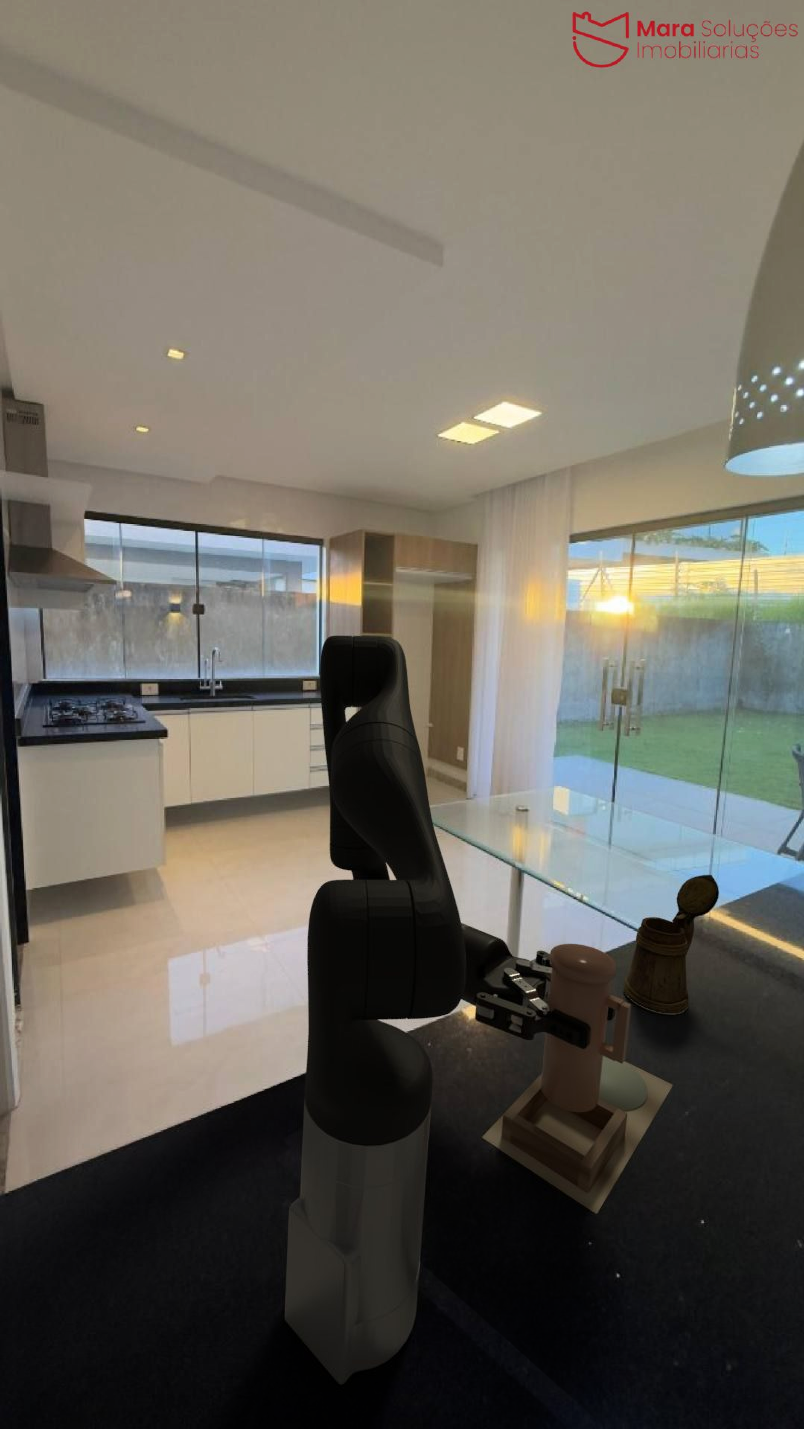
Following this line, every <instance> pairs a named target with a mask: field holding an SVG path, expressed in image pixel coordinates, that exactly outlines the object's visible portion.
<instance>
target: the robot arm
mask: <svg viewBox="0 0 804 1429" xmlns="http://www.w3.org/2000/svg"><path fill="white" fill-rule="evenodd" d="M319 688H320V689H319V690H320V703H321V706H320V707H321V716H322V717H321V718H322V728H323V741H324V742H323V743H324V752H325V761H326V769H327V776H328V777H327V778H328V790H329V859H330V861H331V863H332V864H333V866H334V867H336V868H338V869H340V870H343V871H350V872H351V874H352V879H334V880H333V879H332V880H328V881H326V882H324V883H323V884H321V886H320V887H319V888H318V889H317V892H316V894H314V897H313V900H312V903H311V906H310V911H309V918H308V925H307V926H308V928H307V948H306V949H307V950H306V951H307V952H306V953H307V954H306V955H307V960H306V962H307V964H306V965H307V1000H308V1001H307V1008H308V1010H307V1012H308V1013H307V1015H308V1016H307V1019H308V1020H307V1021H308V1025H307V1026H308V1029H307V1030H308V1032H307V1056H306V1067H305V1069H306V1070H305V1084H304V1101H303V1102H304V1103H303V1104H304V1105H303V1126H302V1148H301V1165H300V1166H301V1168H300V1190H299V1191H300V1192H299V1193H300V1195H299V1197H298V1198H297V1199H295V1200H294V1201H293V1202H292V1203H291V1204H290V1205H289V1210H288V1223H287V1224H288V1226H287V1227H288V1228H287V1229H288V1230H287V1247H286V1248H287V1251H286V1252H287V1253H286V1255H287V1256H286V1275H285V1276H286V1277H285V1298H284V1300H285V1301H284V1303H285V1304H284V1320H285V1322H286V1323H287V1324H288V1325H289V1327H290V1328H291V1330H293V1331H294V1333H295V1334H296V1335H297V1336H298V1338H299V1339H300V1340H301V1341H302V1342H303V1343H304V1345H305V1346H306V1347H307V1348H308V1349H309V1350H310V1352H311V1353H312V1354H313V1355H314V1356H315V1358H316V1359H317V1360H318V1361H319V1362H320V1363H321V1365H322V1366H323V1367H324V1368H325V1369H326V1371H328V1374H330V1375H331V1376H332V1378H333V1379H334V1380H335V1381H336V1382H337V1383H338V1385H344V1384H345V1383H346V1382H347V1380H348V1379H349V1378H350V1377H352V1376H353V1375H354V1373H357V1372H360V1371H365V1370H371V1369H375V1368H377V1367H378V1366H380V1365H382V1364H385V1363H386V1362H388V1361H389V1360H390V1359H392V1358H393V1357H394V1356H395V1355H396V1354H397V1353H398V1352H399V1351H400V1350H401V1349H402V1347H403V1346H404V1345H405V1343H406V1342H407V1340H408V1339H409V1336H410V1335H411V1332H412V1330H413V1329H414V1328H413V1327H414V1323H415V1320H416V1316H417V1307H418V1306H417V1305H418V1304H417V1303H418V1295H419V1294H418V1293H419V1292H418V1291H419V1281H420V1280H419V1278H420V1265H421V1253H422V1252H421V1251H422V1236H423V1235H422V1234H423V1224H424V1223H423V1220H424V1208H425V1192H426V1180H427V1179H426V1178H427V1163H428V1151H429V1150H428V1149H429V1139H430V1126H431V1125H430V1124H431V1113H432V1111H431V1110H432V1098H433V1097H432V1096H433V1087H434V1086H433V1084H434V1079H433V1077H434V1076H433V1066H432V1063H431V1060H430V1057H429V1055H428V1053H427V1052H426V1050H425V1048H424V1047H423V1046H422V1044H420V1042H419V1041H418V1040H417V1039H416V1038H414V1036H412V1035H410V1034H409V1033H408V1032H406V1031H405V1030H402V1029H401V1028H399V1027H397V1026H395V1025H392V1024H390V1023H387V1022H384V1020H386V1021H387V1020H406V1019H407V1020H420V1019H421V1020H424V1019H431V1018H439V1017H442V1016H447V1015H449V1014H451V1013H452V1012H453V1011H454V1010H455V1009H457V1007H458V1006H459V1004H460V1003H461V1000H462V1001H465V1002H467V1003H469V1004H470V1005H472V1006H474V1007H475V1014H474V1019H475V1020H476V1022H479V1023H482V1024H484V1025H486V1026H489V1027H492V1028H494V1029H497V1030H500V1031H502V1032H505V1033H507V1034H509V1035H513V1036H515V1037H516V1038H517V1037H518V1038H519V1039H522V1040H525V1041H532V1040H535V1035H536V1034H539V1035H540V1036H541V1035H542V1036H546V1035H547V1034H548V1033H549V1034H551V1035H553V1036H555V1037H557V1038H559V1039H561V1040H563V1041H565V1042H567V1043H569V1044H572V1045H575V1046H577V1047H579V1048H581V1049H585V1048H586V1047H587V1046H588V1045H589V1044H590V1037H591V1027H590V1026H589V1024H587V1023H585V1022H583V1021H581V1020H579V1019H577V1018H574V1017H572V1016H570V1015H567V1014H565V1013H563V1012H561V1011H559V1010H557V1009H554V1010H553V1011H552V1012H551V1008H550V1006H548V1005H549V994H550V990H549V991H547V990H546V988H547V981H548V982H549V983H551V973H552V967H551V965H550V952H546V951H545V950H536V957H535V958H533V959H532V960H529V959H528V958H527V959H526V958H522V957H517V956H514V955H513V954H512V953H511V951H510V950H509V947H508V944H507V943H506V942H505V941H504V939H502V938H500V937H497V936H495V935H493V934H490V933H488V932H485V931H482V930H480V929H477V928H475V927H473V926H470V925H468V924H466V923H463V922H461V916H460V912H459V908H458V904H457V901H456V897H455V894H454V890H453V887H452V884H451V879H450V877H449V874H448V870H447V868H446V865H445V864H446V863H445V861H444V858H443V854H442V850H441V848H440V845H439V841H438V837H437V835H436V830H435V826H434V823H433V818H432V813H431V812H432V811H431V807H430V801H429V794H428V786H427V779H426V773H425V767H424V762H423V757H422V751H421V748H420V745H419V740H418V737H417V733H416V728H415V723H414V720H413V715H412V710H411V703H410V692H409V678H408V668H407V660H406V655H405V651H404V649H403V647H402V644H400V642H399V641H398V640H396V639H394V638H391V637H388V636H381V635H380V636H378V635H377V636H376V635H375V636H373V635H372V636H371V635H330V636H328V637H327V638H326V639H325V641H324V643H323V645H322V648H321V653H320V663H319ZM347 708H361V709H358V711H357V712H355V713H354V714H353V715H352V716H351V717H349V719H348V720H347V718H346V710H347ZM388 868H389V870H390V871H391V873H392V874H393V876H394V879H391V878H390V874H389V870H388ZM546 991H547V992H546ZM616 1013H617V1010H615V1009H613V1008H610V1007H608V1014H607V1021H609V1022H610V1021H612V1020H613V1019H614V1018H616ZM512 1016H514V1017H515V1018H516V1019H517V1020H518V1021H519V1022H520V1023H521V1025H520V1024H518V1023H516V1022H514V1021H513V1020H512ZM382 1020H383V1021H382Z"/></svg>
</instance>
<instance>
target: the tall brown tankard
mask: <svg viewBox="0 0 804 1429" xmlns="http://www.w3.org/2000/svg"><path fill="white" fill-rule="evenodd" d="M549 954H550V965H551V967H552V973H551V982H549V983H550V985H549V991H550V994H549V1004H547V1005H548V1006H550V1008H551V1012H552V1011H553V1010H554V1009H557V1010H559V1011H561V1012H563V1013H565V1014H567V1015H570V1016H572V1017H574V1018H577V1019H579V1020H581V1021H583V1022H585V1023H587V1024H589V1026H590V1027H591V1037H590V1044H589V1045H588V1046H587V1047H586V1048H585V1049H581V1048H579V1047H577V1046H575V1045H572V1044H569V1043H567V1042H565V1041H563V1040H561V1039H559V1038H557V1037H555V1036H553V1035H551V1034H549V1033H548V1034H547V1035H544V1036H545V1038H544V1040H545V1041H544V1048H543V1058H542V1059H543V1060H542V1069H541V1074H542V1079H541V1089H542V1092H543V1094H544V1095H545V1097H546V1098H547V1099H548V1100H549V1101H550V1102H552V1103H553V1104H554V1105H556V1106H558V1107H560V1108H562V1109H564V1110H567V1111H571V1112H587V1111H590V1110H592V1109H593V1108H595V1107H596V1106H597V1104H598V1100H599V1090H600V1081H601V1071H602V1062H603V1056H605V1057H607V1058H609V1059H611V1060H613V1061H617V1062H619V1063H621V1064H622V1063H623V1062H624V1061H625V1062H626V1056H627V1055H626V1054H627V1047H628V1035H629V1028H630V1019H631V1011H632V1004H631V1003H628V1002H627V1001H624V999H622V998H619V997H617V996H615V995H613V994H611V984H612V980H614V979H615V976H616V968H617V964H616V962H615V960H614V958H612V957H611V956H610V955H608V954H607V953H606V952H604V951H602V950H600V949H599V948H598V949H597V948H596V947H593V946H588V945H586V944H578V943H563V944H558V945H555V946H554V947H553V948H551V949H550V952H549ZM608 1007H610V1008H613V1009H615V1010H616V1012H615V1023H614V1032H613V1033H614V1034H613V1044H612V1045H610V1044H608V1043H605V1041H606V1032H607V1023H608V1022H607V1021H608V1020H607V1014H608Z"/></svg>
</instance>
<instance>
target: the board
mask: <svg viewBox="0 0 804 1429" xmlns="http://www.w3.org/2000/svg"><path fill="white" fill-rule="evenodd" d="M541 1079H542V1073H540V1075H538V1077H537V1078H536V1079H535V1080H534V1081H533V1082H532V1083H531V1084H530V1085H529V1086H528V1087H527V1088H526V1089H525V1090H524V1092H523V1093H522V1094H521V1095H519V1097H518V1098H517V1099H516V1101H515V1102H513V1103H512V1105H511V1106H510V1107H509V1108H508V1109H507V1110H506V1111H505V1112H504V1113H503V1114H502V1115H501V1116H500V1117H499V1119H498V1120H497V1121H496V1122H495V1123H494V1124H493V1125H492V1126H491V1127H490V1128H489V1129H488V1130H487V1131H486V1132H485V1133H484V1135H482V1136H481V1138H482V1139H484V1140H485V1141H486V1142H488V1143H489V1144H491V1145H492V1146H494V1147H495V1148H497V1149H498V1150H499V1151H501V1152H503V1153H505V1154H506V1155H507V1156H508V1157H510V1158H512V1159H513V1160H515V1161H516V1162H518V1163H519V1164H521V1165H522V1166H524V1167H525V1168H527V1169H528V1170H529V1171H531V1172H533V1173H534V1174H535V1175H537V1176H539V1177H540V1178H542V1179H543V1180H544V1181H546V1182H548V1183H549V1184H550V1185H552V1187H553V1186H554V1187H555V1188H556V1189H558V1190H560V1191H561V1192H562V1193H564V1194H565V1195H567V1196H568V1197H569V1198H571V1199H573V1200H575V1201H576V1202H577V1203H579V1204H581V1205H582V1206H583V1207H585V1208H586V1209H588V1210H589V1211H591V1212H592V1213H594V1214H595V1215H597V1214H599V1211H600V1209H601V1208H602V1206H603V1204H604V1202H605V1201H606V1199H607V1198H608V1196H609V1194H610V1193H611V1191H612V1189H613V1188H614V1186H615V1184H616V1183H617V1181H618V1179H619V1177H620V1175H621V1174H622V1173H623V1171H624V1169H625V1167H626V1165H628V1162H629V1160H630V1159H631V1158H632V1156H633V1153H634V1152H635V1150H636V1149H637V1147H638V1145H639V1144H640V1142H641V1140H642V1138H643V1137H644V1135H645V1134H646V1131H648V1129H649V1127H650V1125H651V1123H652V1121H653V1120H654V1118H655V1117H656V1115H657V1113H658V1112H659V1110H660V1108H661V1107H662V1105H663V1104H664V1102H665V1099H666V1098H667V1096H668V1094H669V1093H670V1091H671V1090H672V1088H673V1086H674V1085H673V1084H672V1083H670V1082H668V1081H665V1080H663V1079H662V1078H660V1077H658V1076H655V1075H654V1074H651V1073H649V1072H647V1071H645V1070H643V1069H641V1068H639V1067H637V1066H635V1065H633V1064H631V1063H629V1062H627V1061H626V1060H625V1061H624V1062H623V1063H622V1064H621V1063H619V1062H617V1061H613V1060H611V1059H609V1058H607V1057H605V1056H603V1062H602V1071H601V1081H600V1090H599V1100H598V1104H597V1106H596V1107H595V1108H593V1109H592V1110H590V1111H587V1112H571V1111H567V1110H564V1109H562V1108H560V1107H558V1106H556V1105H554V1104H553V1103H552V1102H550V1101H549V1100H548V1099H547V1098H546V1097H545V1095H544V1094H543V1092H542V1089H541Z"/></svg>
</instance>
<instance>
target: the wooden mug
mask: <svg viewBox="0 0 804 1429" xmlns="http://www.w3.org/2000/svg"><path fill="white" fill-rule="evenodd" d="M719 897H720V890H719V885H718V883H717V881H716V879H715V877H714V876H713V875H712V874H702V875H697V876H693V877H690V878H688V879H687V880H686V881H685V882H684V883H683V884H682V885H681V887H680V889H679V890H678V892H677V896H676V904H677V905H676V906H677V909H678V911H677V912H676V914H675V916H674V917H673V919H672V920H669V919H665V918H661V917H656V916H650V917H644V918H643V919H642V920H641V924H640V926H639V927H637V928H638V929H637V932H636V936H635V941H636V946H635V949H634V953H633V957H632V960H631V963H630V968H629V971H628V974H627V975H626V977H625V980H624V984H623V986H624V992H625V993H626V995H627V996H629V998H630V999H632V1000H633V1001H634V1002H636V1003H637V1004H638V1005H641V1006H643V1007H645V1008H648V1009H650V1010H654V1011H656V1012H661V1013H679V1012H682V1011H683V1010H685V1009H686V1008H687V1007H688V1005H689V1002H690V1001H689V1000H690V999H689V997H690V996H689V990H688V986H687V985H688V984H687V954H688V953H689V950H690V947H691V945H692V942H693V936H694V931H695V920H696V918H698V917H702V916H704V915H706V914H709V913H710V912H711V911H712V909H714V907H715V906H716V905H717V902H718V899H719ZM624 992H623V993H624ZM625 993H624V994H625ZM626 995H625V996H626ZM689 1006H690V1005H689ZM688 1008H689V1007H688Z"/></svg>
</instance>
